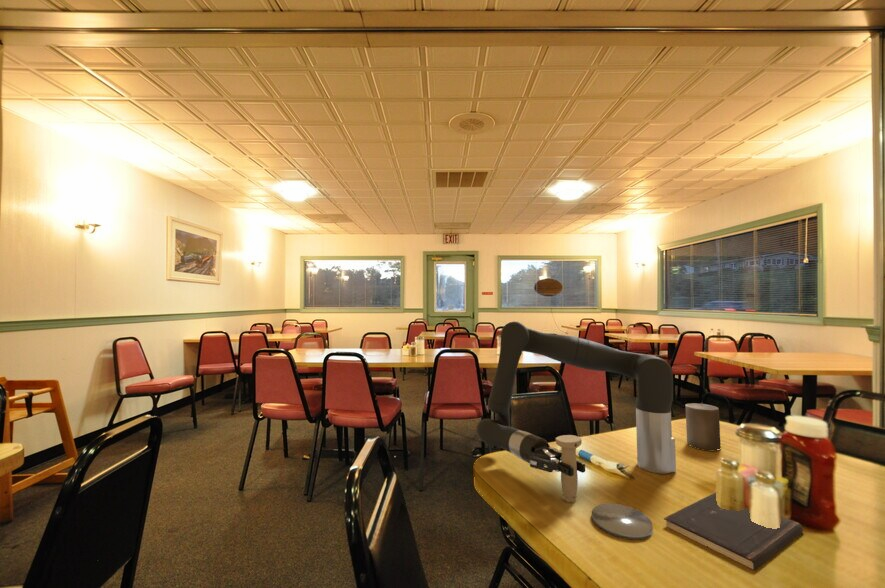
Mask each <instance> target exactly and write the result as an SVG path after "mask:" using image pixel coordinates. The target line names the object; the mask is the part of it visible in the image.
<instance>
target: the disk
mask: <svg viewBox="0 0 885 588" xmlns="http://www.w3.org/2000/svg"><path fill="white" fill-rule="evenodd" d="M591 519H592V522H593V523H594V525H595V526H597V528H598V529H600V530H601V531H603V532H605V533H606V534H608V533H609V535H611V536H613V537H616V538H619V537H620V539H624V540H627V541H628V540H630V541H631V540H632V541H641V540H645V539H648V538H651V536H652V535H653V532H654V531H653V522H652V520H651V519H650V518H649V517H648V516H647V515H646V514H644V513H643V512H642V511H640V510H638V509H636V508H634V507H631V506H628V505H624V504H620V503H611V502H610V503H609V502H605V503H600V504H598V505H595V506H594V507H593V508H592V510H591Z"/></svg>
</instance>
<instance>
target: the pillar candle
mask: <svg viewBox="0 0 885 588" xmlns="http://www.w3.org/2000/svg"><path fill="white" fill-rule="evenodd" d="M684 407H685V422H686V423H685V425H686V426H685V429H686V444H687V443H688V444H689V445H691V446H693V447H696V448H695V449H697V448H699V449H698V450H701V449H704V450H703V451H707V450H717V449H720V448H721V442H722V441H721V426H720V409H719V406H718V407H717V406H715V405H711V404H706V403H703V402H701V403H695V402H694V403H693V402H692V403H686V404H685V406H684ZM688 444H687V445H688ZM689 445H688V446H689ZM691 446H690V447H691ZM693 447H692V448H693ZM721 449H722V448H721Z"/></svg>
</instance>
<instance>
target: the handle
mask: <svg viewBox="0 0 885 588" xmlns="http://www.w3.org/2000/svg"><path fill="white" fill-rule="evenodd" d="M555 444H556V445H557V446H559V447H560V448H561V450H562V462H563V463H565V464H568V465H570V466H572V467H573V469H574V475H573V476H568V475H566V474H564V473H562V472H560V484H561V492H562V493H561V494H562V495H561V496H562V500H564V501H565V502H566V503H575V502H576V500H577V497H578V488H579V487H578V485H579V484H578V483H579V481H578V480H579V478H578V471H577V464H576V460H577V448H579V447H580V446H581V445H582V438H581V437H579V436H577V435H573V434H566V435H565V434H563V435H559V436H557V437H555Z"/></svg>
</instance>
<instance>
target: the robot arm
mask: <svg viewBox="0 0 885 588" xmlns="http://www.w3.org/2000/svg"><path fill="white" fill-rule="evenodd" d="M499 347H500V348H499V350H500V351H499V357H498V361H497V367H496V370H495V375H494V378H493V381H492V386H491V389H490V394H489V397H488V402H487V408H488V410H489V411H491V412H493V413H494V417H495V418H494V419H491V418H483V419H481V420H480V421H479V422H478V423H477V425H476V428H475V429H476V435H477V437H478V439H479V440H480V441H481V442H483V443H484V444H487V445H490V446H495V447H496V448H497V447H498V448H500V449H503V450H505V451H506V452H508V453H510V454H512V455H514V456H515V457H517V458H518V459H520V460H521V461H524V462H526V463H528V464H529V467H530V468H533V469H535V470H536V469H537V470H540V471H544V472H547V473H553V471H555V472H558V473H559V472H560V473H561V472H562V473H564V474H566V475H568V476H573V475H574V469H573V467H572V466H570V465H568V464H565V463H563V462H562V449H561V450H560V449H557V448H555V447H553V446H550V444H549V443H548V441H547V440H546V439H545V438H543V437H540V436H537V435H535V434H533V433H530V432H528V431H525V430H521V429H518V428H515V427H513V426H510V407H511V403H512V399H513V393H514V389H515V383H516V382H515V381H516V376H517V370H518V365H519V363H520V359H521V356H522V353H523V352H527V353H532V354H537V355H540V356H543V357H545V358H546V357H547V358H549V359H551V360H554V361H557V362H560V363H562V364H565V365H568V366H573V367H576V368H580V369H585V370H589V371H596V372H610V373H615V374H619V375H623V376H624V377H629V378H630V379H631V378H632V379H633V380H636V381H637V383H638V385H637V386H638V387H637V388H638V389H637V397H636V398H635V420H636V421H635V423H636V427H635V428H636V429H635V430H636V431H635V432H636V460H637V463H636V464H637V466H638V467H639V468H641V469H642V470H645V471H646V472H650V473H653V474H663V475H665V474H670V473H676V472H677V459H676V438H675V437H673V433H672V404H673V401H674V375H673V370H672V367H671V365H670V363H669V362H667V361H666V359H663V358H662V357H658V356H656V355H653V354H644V353H637V352H630V351H624V350H619V349H617V348H614V347H610V346H608V345H605V344H603V343H599V342H596V341H593V340H590V339H586V338H583V337H582V338H581V337H577V336H572V335H564V334H554V333H545V332H542V331H537V330H535V329H532V328H528V327H526V326H525V324H523V323H521V322H519V321H510V322H508V323H506V324H505V325H504V326H503V327H502V329H501V330H500V346H499ZM576 464H577V472H580V473H585V472H586V464H585V463H584V462H582V461H580V460H578V459H576Z"/></svg>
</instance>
